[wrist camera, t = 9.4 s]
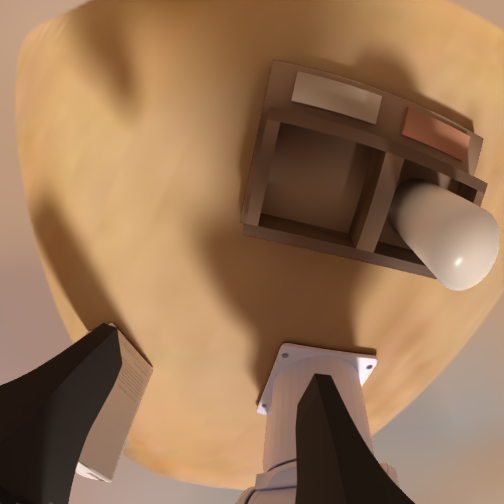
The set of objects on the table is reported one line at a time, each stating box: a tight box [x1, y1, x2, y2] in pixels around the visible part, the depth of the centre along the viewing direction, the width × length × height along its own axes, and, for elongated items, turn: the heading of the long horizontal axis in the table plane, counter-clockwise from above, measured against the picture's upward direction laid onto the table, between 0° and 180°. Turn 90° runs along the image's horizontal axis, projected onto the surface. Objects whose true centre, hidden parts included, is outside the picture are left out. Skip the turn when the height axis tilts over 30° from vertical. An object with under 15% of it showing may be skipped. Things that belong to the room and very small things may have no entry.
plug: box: [388, 178, 500, 291], centre depth 12 cm, size 4×4×6 cm
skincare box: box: [76, 323, 153, 482], centre depth 18 cm, size 6×4×12 cm
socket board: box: [240, 60, 487, 279], centre depth 14 cm, size 9×13×3 cm
